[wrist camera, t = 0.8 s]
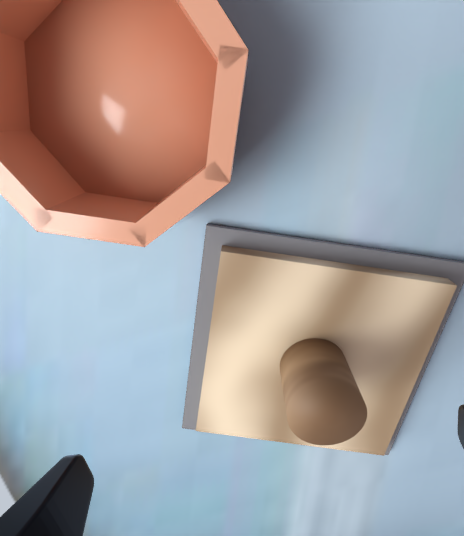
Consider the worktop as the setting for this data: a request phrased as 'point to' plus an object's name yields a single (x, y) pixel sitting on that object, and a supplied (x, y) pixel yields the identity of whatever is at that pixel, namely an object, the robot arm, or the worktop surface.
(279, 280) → the lid
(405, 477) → the worktop surface
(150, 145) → the bowl
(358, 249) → the mat
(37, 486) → the robot arm
